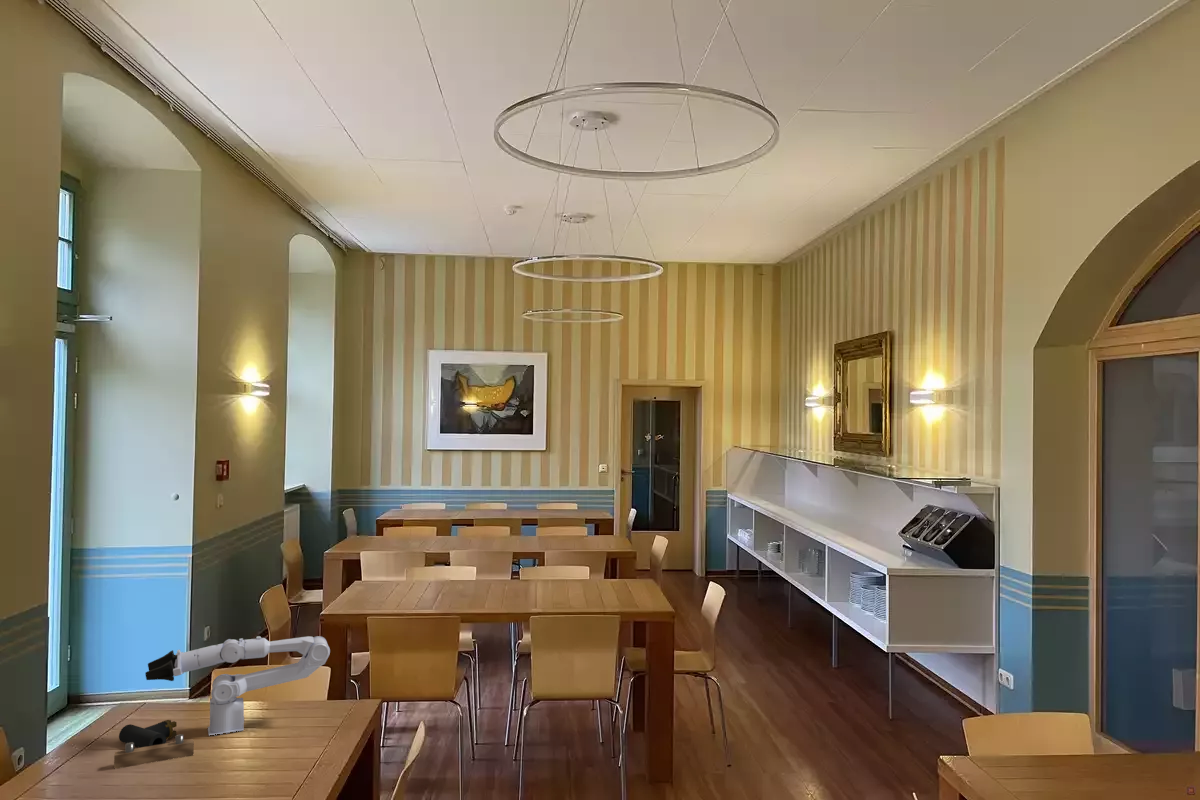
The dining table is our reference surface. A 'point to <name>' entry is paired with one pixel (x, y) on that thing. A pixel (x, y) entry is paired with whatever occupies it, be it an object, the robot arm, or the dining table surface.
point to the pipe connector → (148, 734)
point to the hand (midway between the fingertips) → (147, 671)
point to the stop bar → (153, 752)
